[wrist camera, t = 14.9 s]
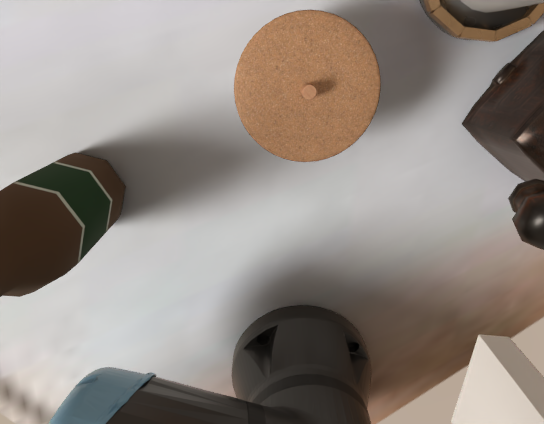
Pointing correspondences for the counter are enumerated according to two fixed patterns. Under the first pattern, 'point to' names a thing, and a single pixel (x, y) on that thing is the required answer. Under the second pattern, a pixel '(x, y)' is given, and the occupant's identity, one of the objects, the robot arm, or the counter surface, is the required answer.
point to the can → (498, 4)
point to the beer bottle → (55, 220)
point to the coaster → (479, 19)
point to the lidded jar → (307, 85)
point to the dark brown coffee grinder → (517, 134)
